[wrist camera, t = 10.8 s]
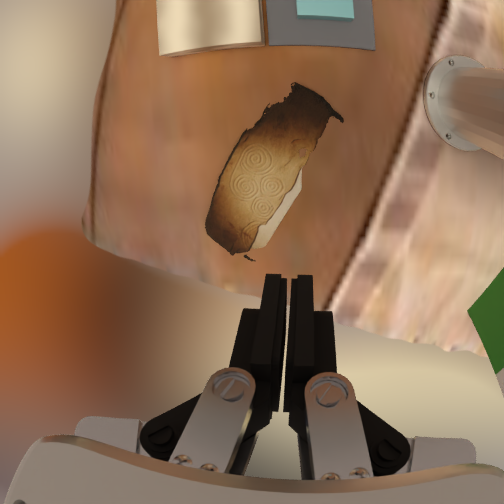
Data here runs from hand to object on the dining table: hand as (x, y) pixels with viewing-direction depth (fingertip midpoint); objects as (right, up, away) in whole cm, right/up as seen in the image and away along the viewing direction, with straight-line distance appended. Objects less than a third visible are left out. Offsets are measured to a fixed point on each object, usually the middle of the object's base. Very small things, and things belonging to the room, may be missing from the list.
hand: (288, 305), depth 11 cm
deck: (-6, +32, +13) cm, 35 cm away
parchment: (0, +11, +26) cm, 28 cm away
